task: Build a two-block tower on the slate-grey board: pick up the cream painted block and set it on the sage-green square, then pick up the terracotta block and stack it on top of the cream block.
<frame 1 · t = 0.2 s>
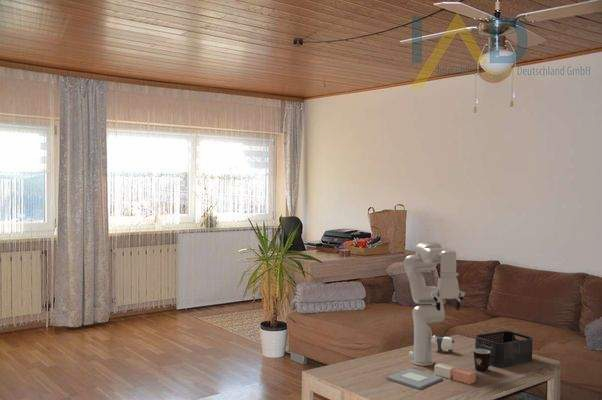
hand: (447, 309, 285), 36 cm above the table, tool pointing down, fingers open, 9 cm apart
cream block: (445, 375, 297), on the table
giant panda: (442, 351, 339), on the table
storage bin: (503, 360, 324), on the table
build board: (414, 379, 290), on the table
coffee mug: (483, 371, 304), on the table
terracotta block: (464, 381, 289), on the table
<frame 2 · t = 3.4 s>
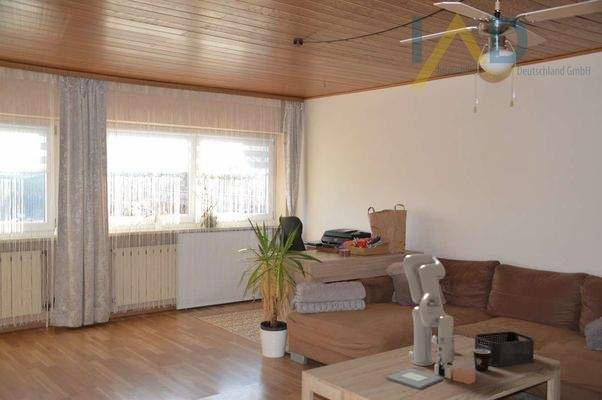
hand: (445, 373, 297), 1 cm above the table, tool pointing down, fingers closed on cream block, 6 cm apart
cream block: (445, 375, 297), on the table, touching gripper
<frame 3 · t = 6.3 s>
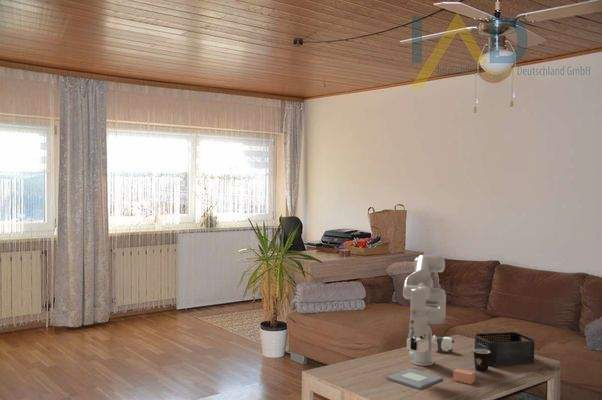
hand: (417, 348, 290), 16 cm above the table, tool pointing down, fingers closed on cream block, 6 cm apart
cream block: (417, 349, 290), point 15 cm above the table, touching gripper
when the fingers open (3 cm above the table, at t = 9.3 s): cream block stays where it is, resting on build board.
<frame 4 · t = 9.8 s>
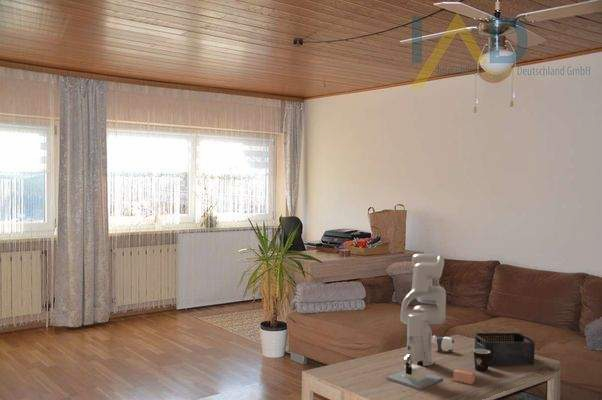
hand: (414, 371, 290), 4 cm above the table, tool pointing down, fingers open, 9 cm apart
cream block: (414, 376, 290), point 1 cm above the table, touching build board
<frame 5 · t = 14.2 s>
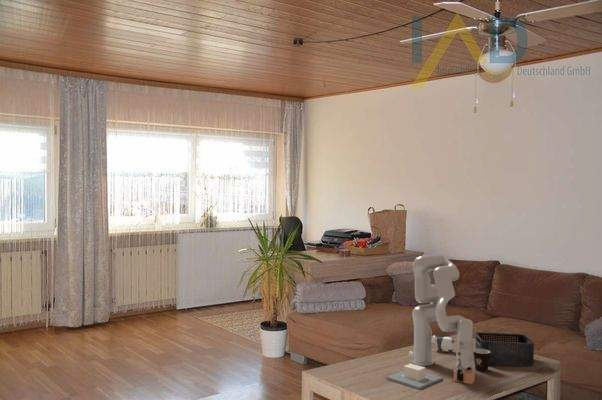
hand: (464, 378, 289), 1 cm above the table, tool pointing down, fingers closed on terracotta block, 7 cm apart
terracotta block: (464, 380, 289), on the table, touching gripper
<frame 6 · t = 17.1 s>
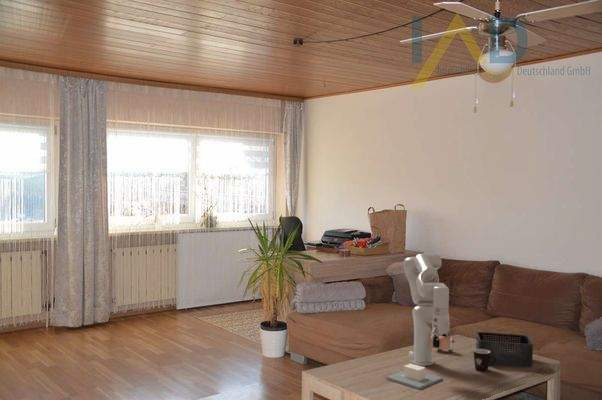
hand: (440, 345, 289), 18 cm above the table, tool pointing down, fingers closed on terracotta block, 7 cm apart
terracotta block: (440, 347, 289), point 17 cm above the table, touching gripper
when the fingers open (8 cm above the table, at t = 20.2 s): terracotta block drops 1 cm, resting on cream block.
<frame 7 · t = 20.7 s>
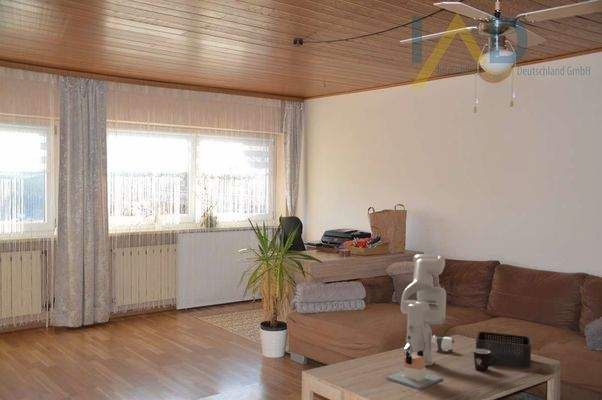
hand: (414, 361, 290), 9 cm above the table, tool pointing down, fingers open, 9 cm apart
cream block: (414, 376, 290), point 1 cm above the table, touching build board, terracotta block
terracotta block: (414, 366, 290), point 6 cm above the table, touching cream block
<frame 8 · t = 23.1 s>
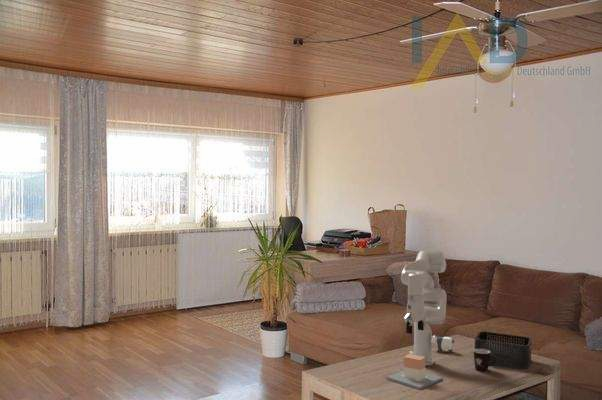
hand: (414, 331, 290), 24 cm above the table, tool pointing down, fingers open, 9 cm apart
at the end: cream block inside the target area on the build board (0.1 cm from its centre), point 1.4 cm above the build board's base; terracotta block 0.0 cm off-centre on the cream block, point 5.0 cm above the cream block's base; terracotta block tilted 0° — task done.
